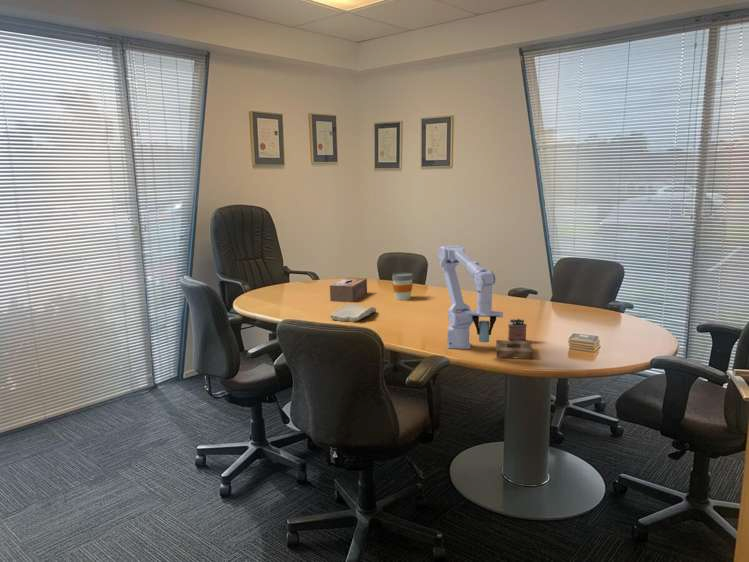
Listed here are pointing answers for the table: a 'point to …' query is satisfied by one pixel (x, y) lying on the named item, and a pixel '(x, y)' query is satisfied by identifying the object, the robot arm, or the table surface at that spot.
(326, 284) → the table surface
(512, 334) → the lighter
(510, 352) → the socket block
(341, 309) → the folded grey cloth
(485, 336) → the peg
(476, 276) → the robot arm
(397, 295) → the reusable coffee cup
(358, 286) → the tissue box cover
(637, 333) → the table surface
